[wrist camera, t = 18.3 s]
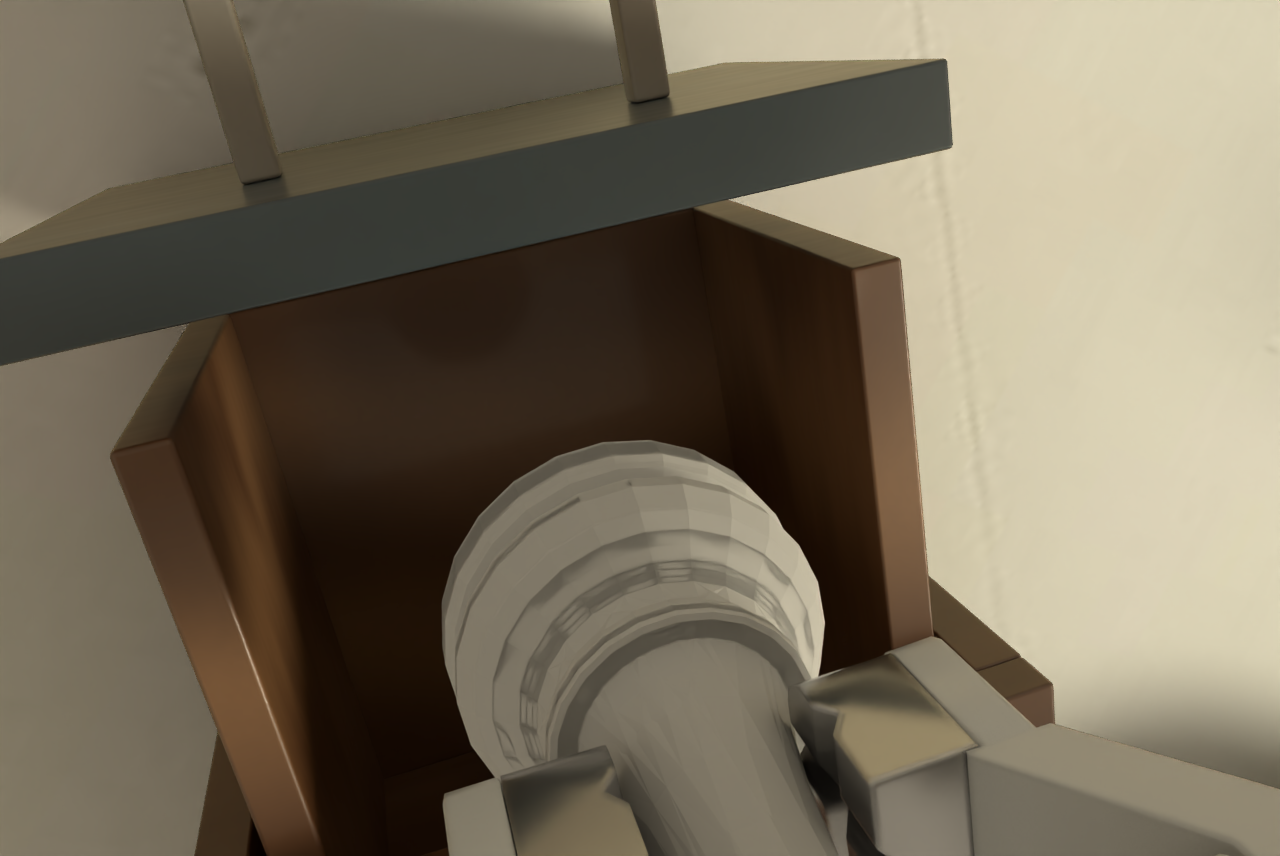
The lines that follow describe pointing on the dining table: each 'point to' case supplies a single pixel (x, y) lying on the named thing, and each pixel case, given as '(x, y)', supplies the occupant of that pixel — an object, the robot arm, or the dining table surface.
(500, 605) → the chess piece
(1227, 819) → the robot arm
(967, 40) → the dining table surface
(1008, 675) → the cabinet
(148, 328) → the drawer
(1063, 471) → the dining table surface
